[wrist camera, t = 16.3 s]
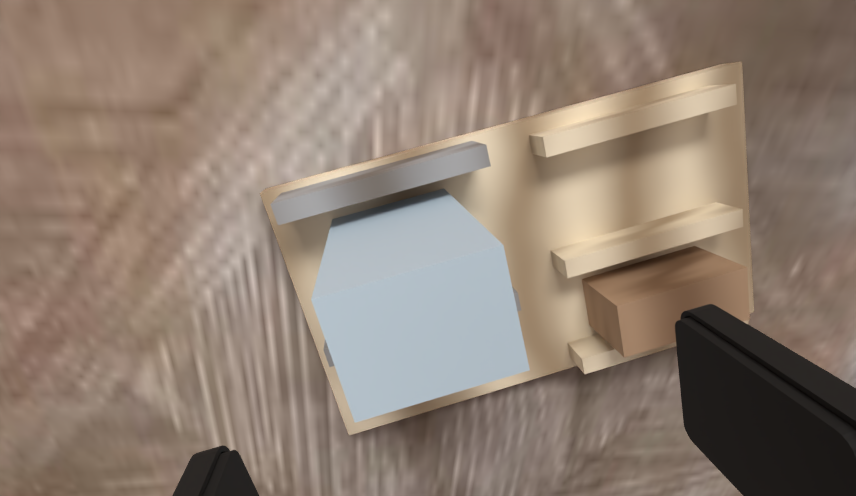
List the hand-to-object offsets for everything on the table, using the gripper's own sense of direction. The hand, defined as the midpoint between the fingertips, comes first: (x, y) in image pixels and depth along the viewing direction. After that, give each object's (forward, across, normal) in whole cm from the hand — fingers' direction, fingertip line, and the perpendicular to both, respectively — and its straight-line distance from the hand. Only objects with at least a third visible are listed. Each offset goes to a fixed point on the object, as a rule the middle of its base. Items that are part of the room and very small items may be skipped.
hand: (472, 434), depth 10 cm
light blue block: (+16, +1, +1) cm, 16 cm away
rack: (+18, -6, +4) cm, 19 cm away
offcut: (+16, -12, +7) cm, 22 cm away
